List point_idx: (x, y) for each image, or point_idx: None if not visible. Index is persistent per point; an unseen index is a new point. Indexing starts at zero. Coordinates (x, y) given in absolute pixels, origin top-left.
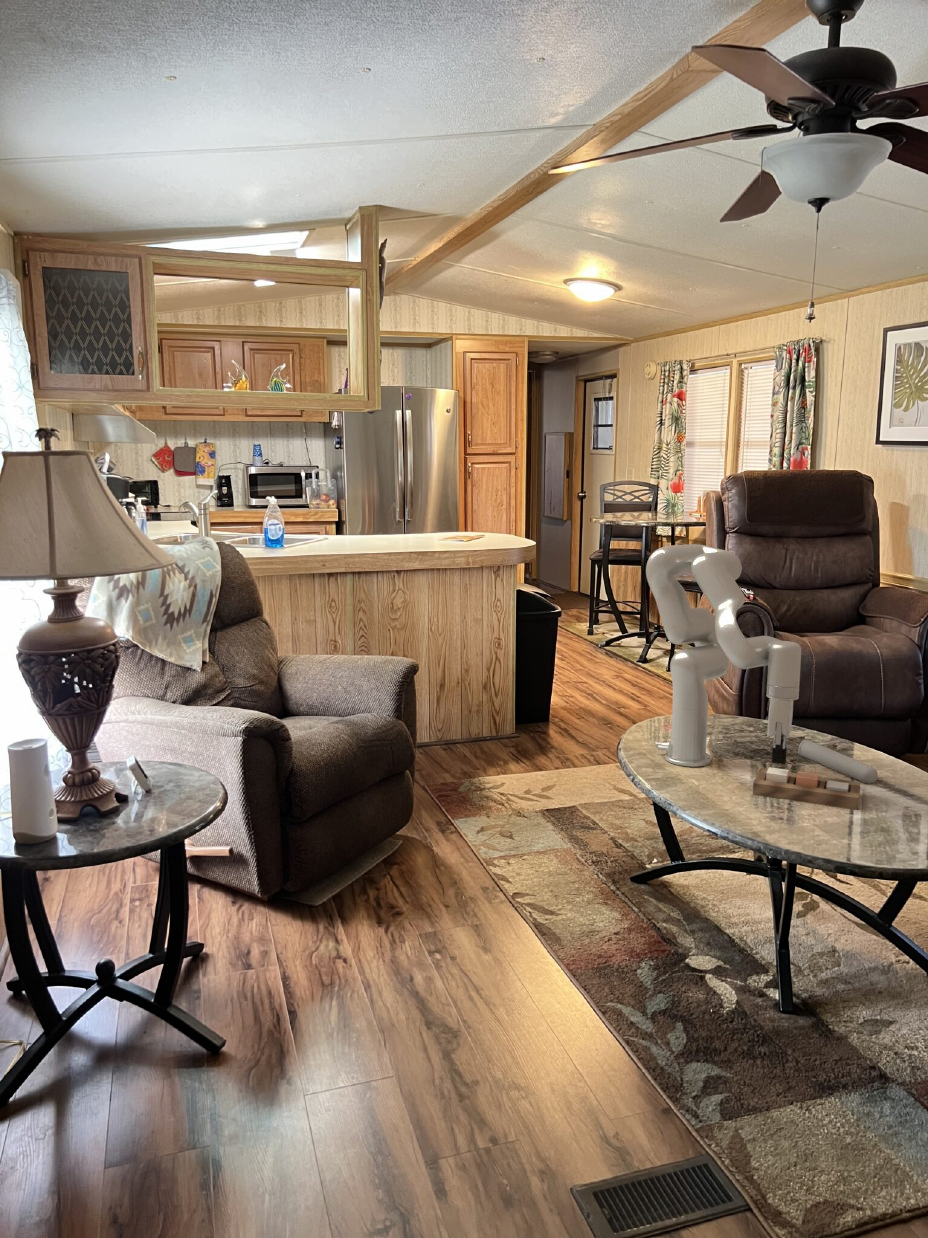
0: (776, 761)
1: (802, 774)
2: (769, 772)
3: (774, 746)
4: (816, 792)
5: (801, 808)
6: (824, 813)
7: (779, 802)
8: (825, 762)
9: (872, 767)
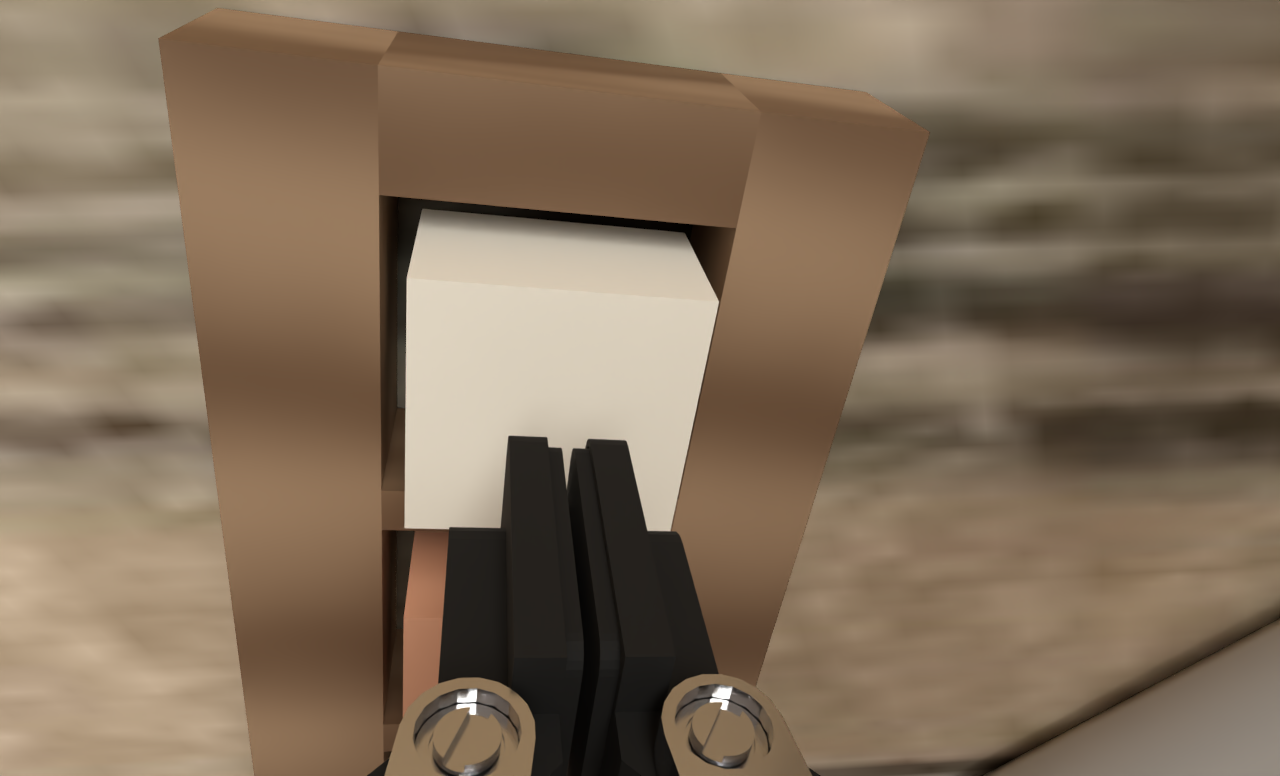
0: (503, 511)
1: None
2: (452, 319)
3: (398, 752)
4: (248, 712)
5: (60, 528)
6: (56, 681)
7: (111, 336)
8: (1255, 666)
9: None
